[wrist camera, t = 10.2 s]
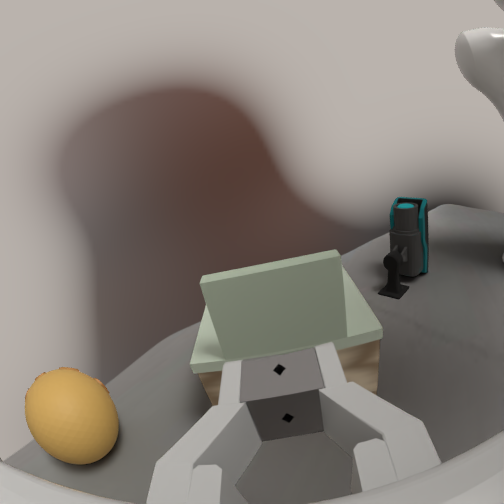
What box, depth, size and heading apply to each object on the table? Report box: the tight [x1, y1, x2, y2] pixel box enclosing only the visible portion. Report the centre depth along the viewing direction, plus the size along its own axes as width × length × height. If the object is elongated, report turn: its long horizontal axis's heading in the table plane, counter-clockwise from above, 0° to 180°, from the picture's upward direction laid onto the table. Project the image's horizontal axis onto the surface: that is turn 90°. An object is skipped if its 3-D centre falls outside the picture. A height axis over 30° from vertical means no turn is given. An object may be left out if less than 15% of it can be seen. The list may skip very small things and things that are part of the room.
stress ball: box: [25, 367, 119, 464], centre depth 22 cm, size 10×10×10 cm
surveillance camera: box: [378, 197, 428, 299], centre depth 40 cm, size 6×12×10 cm
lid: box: [190, 249, 383, 374], centre depth 26 cm, size 15×14×7 cm
